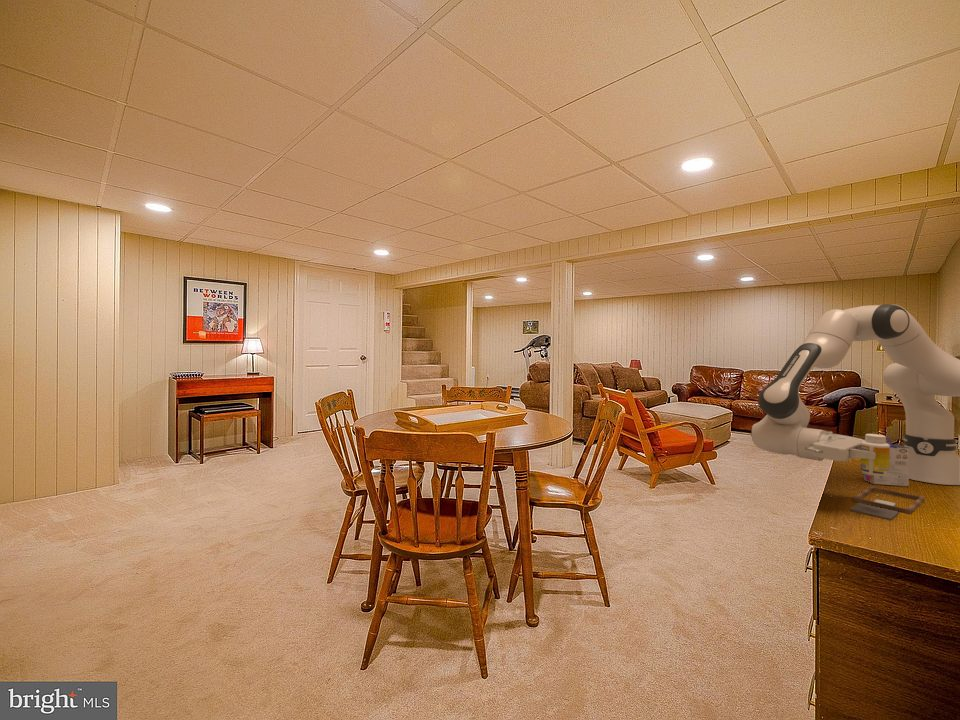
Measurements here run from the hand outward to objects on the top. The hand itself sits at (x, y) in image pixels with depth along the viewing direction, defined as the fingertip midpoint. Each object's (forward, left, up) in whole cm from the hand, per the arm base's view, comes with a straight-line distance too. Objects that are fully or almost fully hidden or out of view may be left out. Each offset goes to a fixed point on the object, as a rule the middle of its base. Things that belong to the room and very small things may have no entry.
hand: (879, 454), depth 112 cm
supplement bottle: (0, -1, -6) cm, 6 cm away
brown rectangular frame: (-15, -1, -15) cm, 21 cm away
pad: (0, -1, -15) cm, 15 cm away
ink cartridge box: (-37, -6, -16) cm, 40 cm away
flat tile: (-10, -1, -16) cm, 19 cm away
